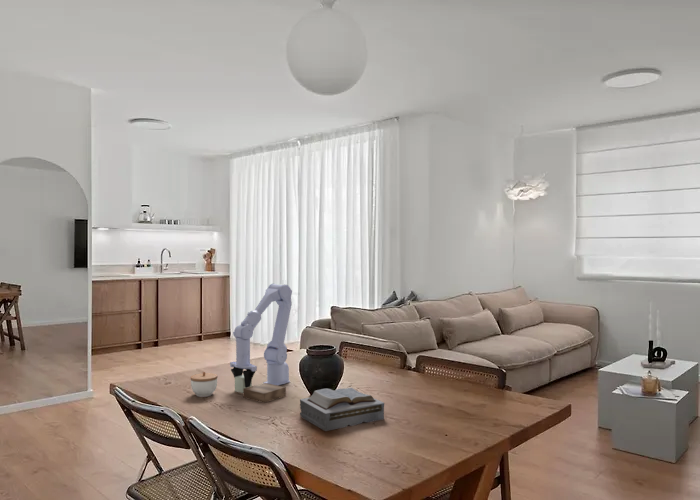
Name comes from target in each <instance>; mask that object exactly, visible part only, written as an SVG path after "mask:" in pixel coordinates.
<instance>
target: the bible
mask: <svg viewBox="0 0 700 500" xmlns="http://www.w3.org/2000/svg"><path fill="white" fill-rule="evenodd" d="M299 403H300V404H299V407H300V414H299V416H300V417H301V418H302V419H303V420H305V421H307V422H309V423H311V424H312V425H314V426H315V427H317V428H319V429H321V430H322V431H324V432H328V431H333V430H336V429H342V428H347V427H348V426H351V427H353V426H357V425H361V424H362V423H371V422H377V421H381V420H385V402H383V401H382V400H379V399H377V398H374V396H372V395H371V394H366V393H362V392H360V391H358V390H356V389H354V387H347V388H337V389H335V390H333V389H331V388H321V389H317V390H314V391H313V393H312V395H311V396H309V397H305V398H304V397H303V398H300V399H299Z"/></svg>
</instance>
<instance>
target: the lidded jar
mask: <svg viewBox="0 0 700 500" xmlns="http://www.w3.org/2000/svg"><path fill="white" fill-rule="evenodd" d="M190 386H191V387H190V388H191V390H192V392H193V393H194V394H195V395H196V397H198V398H199V397H200V398H203V397H204V398H206V397H210V396H212V395H213V393H214V392H215V391H216V389H217V386H218V374H216V373H212V372H206V371H202V373H196V374H192V375H191V376H190Z"/></svg>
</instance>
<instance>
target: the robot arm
mask: <svg viewBox="0 0 700 500" xmlns="http://www.w3.org/2000/svg"><path fill="white" fill-rule="evenodd" d="M292 293H293V289H292V288H291V287H290V286H289V285H288V284H280V283H279V284H278V283H271V284H269V285H268V287H267V288H266V289H265V292H264V295H263V297H262V298H261V300H260V301H259V303H258V304H257V306H256V308H255V309H254V310H251V311H248V312H247V314H246V316H245V318H244V319H243V320H242V321H241V322H240V324H238V325H237V326H236V327H235V328H234V331H233V332H232V333H233V334H232V335H233V337H234V338H235V346H236V349H235V352H236V353H235V355H236V356H235V357H236V358H235V361H230V362H229V367H230V368H231V369H230V371H231V373H232V375H233V378H234V379H235V377H236V376H240V375H244V379H245V387H246V388H247V387H250V385H251V381H252V380H253V377H254V375H255V374H256V371H257V370H258V366H257V365H255V364H252V363H251V338H253V335H254V330H255V328H256V327H257V325H258V324H259V323H260V321H261V320H262V315H263V313H264V312H265V311H266V309H268V307H269V306H270V305H271V304H272V303H273V302H276V304H277V306H278V307H277V309H278V310H277V312H276V313H277V314H276V318H275V322H274V328H273V333H272V337H271V340H270V342H268V343H267V345H266V348H265V349H264V352H263V358H264V359H265V361H266V363H267V364H266V365H267V367H266V370H267V371H266V375H267V377H266V381H263V382H262V384H263V383H268V384H273V385H278V386H281V385H285V384H289V383H291V380H290V374H289V373H290V368H289V367H290V366H289V364H288V363H287V362H286V361H287V359H288V353H287V351H288V347H287V345H286V343H285V339H286V334H287V329H288V323H289V319H290V315H291V309H292V303H293V301H292ZM252 382H253V381H252Z"/></svg>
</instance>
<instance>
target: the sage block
mask: <svg viewBox="0 0 700 500" xmlns="http://www.w3.org/2000/svg"><path fill="white" fill-rule="evenodd" d="M252 382H253V381H251V385H250V387H252V386H253V383H252ZM244 388H246V387H245V379H244V375H243V374H242V375H240V376H236V377H235V378H234V392H236V393H237V392H238V393H241V394H243V389H244ZM247 388H248V387H247Z"/></svg>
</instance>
